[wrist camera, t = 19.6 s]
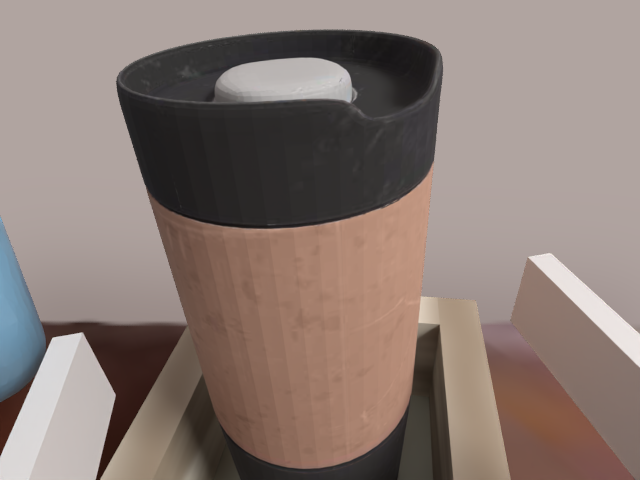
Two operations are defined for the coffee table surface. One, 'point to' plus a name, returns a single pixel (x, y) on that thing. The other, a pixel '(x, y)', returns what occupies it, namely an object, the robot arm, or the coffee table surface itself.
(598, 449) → the coffee table surface
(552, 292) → the robot arm
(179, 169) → the travel mug
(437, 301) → the well
